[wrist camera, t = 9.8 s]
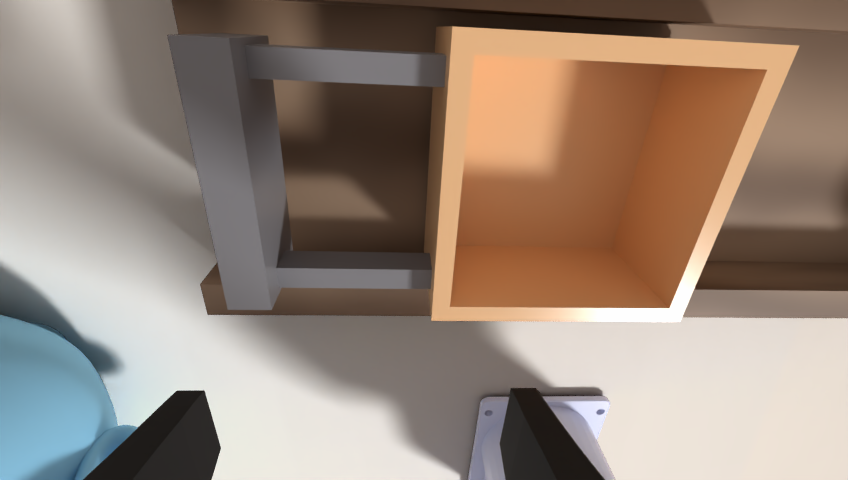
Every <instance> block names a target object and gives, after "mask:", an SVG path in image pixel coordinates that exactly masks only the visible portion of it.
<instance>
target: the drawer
mask: <svg viewBox="0 0 848 480" xmlns="http://www.w3.org/2000/svg"><path fill="white" fill-rule="evenodd" d="M167 36H168V41H169V45H170V50H171V54H172V59H173V64H174V68H175V73H176V77H177V82H178V86H179V91H180V95H181V100H182V104H183V109H184V113H185V118H186V123H187V127H188V132H189V136H190V141H191V145H192V150H193V154H194V159H195V163H196V168H197V173H198V177H199V182H200V186H201V191H202V195H203V200H204V204H205V209H206V213H207V218H208V222H209V227H210V232H211V236H212V241H213V245H214V250H215V254H216V259H217V263H218V268H219V272H220V277H221V282H222V286H223V291H224V295H225V300H226V304H227V309H228V310H272V308H273V306H274V304H275V302H276V299H277V297H278V295H279V293H280V291H281V288H367V289H428V294H429V303H430V313H431V321H571V322H680V321H681V318H682V316H683V314H684V312H685V309H686V307H687V305H688V302H689V300H690V298H691V295H692V293H693V291H694V288H695V286H696V284H697V281H698V279H699V277H700V275H701V272H702V270H703V268H704V265H705V263H706V261H707V258H708V256H709V254H710V251H711V249H712V247H713V244H714V242H715V240H716V238H717V235H718V233H719V231H720V228H721V226H722V224H723V221H724V219H725V217H726V214H727V212H728V210H729V208H730V205H731V203H732V201H733V198H734V196H735V194H736V191H737V189H738V187H739V184H740V182H741V180H742V177H743V175H744V173H745V171H746V168H747V166H748V164H749V161H750V159H751V157H752V154H753V152H754V150H755V147H756V145H757V143H758V141H759V138H760V136H761V134H762V131H763V129H764V127H765V124H766V122H767V120H768V117H769V115H770V113H771V110H772V108H773V106H774V104H775V101H776V99H777V97H778V94H779V92H780V90H781V87H782V85H783V83H784V80H785V78H786V76H787V74H788V71H789V69H790V67H791V64H792V62H793V60H794V57H795V55H796V53H797V50H798V48H799V45H780V44H762V43H744V42H726V41H708V40H690V39H671V38H653V37H635V36H617V35H599V34H581V33H562V32H544V31H526V30H508V29H490V28H472V27H453V26H445V27H436V38H435V53H428V52H408V51H388V50H369V49H349V48H329V47H309V46H289V45H269V41H268V35H248V34H229V33H208V34H180V35H167ZM273 80H293V81H316V82H338V83H361V84H383V85H406V86H428V87H433V93H432V111H431V129H430V147H429V165H428V184H427V202H426V220H425V238H424V253H397V252H335V251H293V246H292V237H291V229H290V220H289V212H288V203H287V194H286V186H285V177H284V169H283V160H282V152H281V143H280V135H279V126H278V118H277V109H276V100H275V92H274V83H273Z"/></svg>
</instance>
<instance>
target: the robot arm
mask: <svg viewBox="0 0 848 480" xmlns="http://www.w3.org/2000/svg"><path fill="white" fill-rule="evenodd" d="M609 407H610V402H609V400H608V398H607V397H605V396H542V395H541V394H540V392H539V391H538V390H537V389H536V388H511V391H510V395H509V397H486V398H484V399H482V400H481V402H480V408H479V414H478V420H477V426H476V433H475V439H474V445H473V451H472V457H471V464H470V470H469V476H468V480H615V477H614V475H613V473H612V471H611V469H610V467H609V465H608V463H607V461H606V459H605V456H604V454H603V452H602V450H601V448H600V446H599V444H598V442H597V439H598V436H599V433H600V431H601V428H602V426H603V423H604V420H605V418H606V415H607V412H608V410H609ZM487 410H488V411H487ZM220 449H221V447H220V443H219V440H218V436H217V433H216V429H215V426H214V423H213V419H212V416H211V412H210V409H209V405H208V402H207V398H206V395H205V391H176V392H175V393H174V394H173V395H172V396H171V397H170V398H169V399H168V400H166V401H165V402H164V403H163V404H162V405H161V406H160V407H159V408H158V409H157V410H156V411H155V412H154V413H153V414H152V415H151V416H150V417H149V418H148V419H147V420H145V421H144V422H143V423H142V424H141V425H140V426H139V427H138V428H137V429H136V430H135V431H134V432H133V433H132V434H131V435H130V436H129V437H128V438H127V439H126V440H125V441H124V442H122V443H121V444H120V445H119V446H118V447H117V448H116V449H115V450H114V451H113V452H112V453H111V454H110V455H109V456H108V457H107V458H105V459H104V460H103V461H102V462H101V463H100V464H99V465H98V466H97V467H96V468H95V469H94V470H93V471H91V472H90V473H89V474H88V475H87V476H86V477H85V478H84V479H83V480H211V479H212V476H213V473H214V469H215V466H216V463H217V459H218V456H219V453H220Z"/></svg>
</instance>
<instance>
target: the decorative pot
mask: <svg viewBox="0 0 848 480" xmlns="http://www.w3.org/2000/svg"><path fill="white" fill-rule="evenodd" d="M137 428H138V427H135V426H130V425H121V426H118V424H117V418H116V415H115V411H114V407H113V404H112V402H111V399H110V397H109V394H108V392H107V390H106V388H105V386H104V384H103V382H102V380H101V378H100V376H99V374H98V372H97V371H96V369H95V368H94V366H93V365H92V363H91V362H90V361H89V359H88V358H87V357H86V356H85V355H84V354H83V353H82V352H81V351H80V350H79V349H78V348H76V347H75V346H74V345H72V344H71V343H70V342H68V341H67V339H66V338H65V337H64V336H63V335H62V334H61V333H60V332H58V331H57V330H55V329H53V328H51V327H49V326H46V325H43V324H38V323H27V322H24V321H21V320H18V319H15V318H11V317H7V316H3V315H0V480H83V479H84V478H85V477H86V476H87V475H88V474H89V473H90V472H91V471H93V470H94V469H95V468H96V467H97V466H98V465H99V464H100V463H101V462H102V461H103V460H104V459H105V458H107V457H108V456H109V455H110V454H111V453H112V452H113V451H114V450H115V449H116V448H117V447H118V446H119V445H120V444H121V443H122V442H124V441H125V440H126V439H127V438H128V437H129V436H130V435H131V434H132V433H133V432H134V431H135V430H136V429H137Z"/></svg>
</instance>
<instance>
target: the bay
mask: <svg viewBox="0 0 848 480" xmlns="http://www.w3.org/2000/svg"><path fill="white" fill-rule="evenodd" d="M172 4H173V9H174V14H175V19H176V23H177V28H178V33H179V35H180V34H208V33H229V34H248V35H268V41H269V45H289V46H309V47H329V48H349V49H369V50H388V51H408V52H428V53H435V38H436V27H445V26H453V27H472V28H490V29H508V30H526V31H544V32H562V33H581V34H599V35H617V36H635V37H653V38H671V39H690V40H708V41H726V42H744V43H762V44H780V45H799V48H798V50H797V53H796V55H795V57H794V60H793V62H792V64H791V67H790V69H789V71H788V74H787V76H786V78H785V80H784V83H783V85H782V87H781V90H780V92H779V94H778V97H777V99H776V101H775V104H774V106H773V108H772V110H771V113H770V115H769V117H768V120H767V122H766V124H765V127H764V129H763V131H762V134H761V136H760V138H759V141H758V143H757V145H756V147H755V150H754V152H753V154H752V157H751V159H750V161H749V164H748V166H747V168H746V171H745V173H744V175H743V177H742V180H741V182H740V184H739V187H738V189H737V191H736V194H735V196H734V198H733V201H732V203H731V205H730V208H729V210H728V212H727V214H726V217H725V219H724V221H723V224H722V226H721V228H720V231H719V233H718V235H717V238H716V240H715V242H714V244H713V247H712V249H711V251H710V254H709V256H708V258H707V261H706V263H705V265H704V268H703V270H702V272H701V275H700V277H699V279H698V281H697V284H696V286H695V288H694V291H693V293H692V295H691V298H690V300H689V302H688V305H687V307H686V309H685V312H684V314H683V316H682V317H734V318H848V0H172ZM273 83H274V92H275V100H276V109H277V118H278V126H279V135H280V143H281V152H282V160H283V169H284V177H285V186H286V194H287V203H288V212H289V220H290V229H291V237H292V246H293V251H335V252H397V253H424V238H425V220H426V202H427V184H428V165H429V147H430V129H431V111H432V93H433V87H428V86H406V85H383V84H361V83H338V82H316V81H293V80H273ZM200 286H201V290H202V294H203V298H204V302H205V306H206V310H207V314H208V315H363V316H431V313H430V303H429V294H428V289H367V288H281V291H280V293H279V295H278V297H277V299H276V302H275V304H274V306H273V308H272V310H228V309H227V304H226V300H225V295H224V291H223V286H222V282H221V277H220V272H219V268H218V263H216V265H215V266H214V267H213V269H212V270H211V271H210V272H209V274H208V275H207V276H206V278H205V279H204V280H203V281H202V283H201V284H200Z"/></svg>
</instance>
